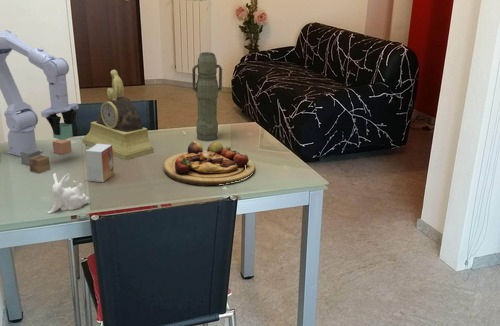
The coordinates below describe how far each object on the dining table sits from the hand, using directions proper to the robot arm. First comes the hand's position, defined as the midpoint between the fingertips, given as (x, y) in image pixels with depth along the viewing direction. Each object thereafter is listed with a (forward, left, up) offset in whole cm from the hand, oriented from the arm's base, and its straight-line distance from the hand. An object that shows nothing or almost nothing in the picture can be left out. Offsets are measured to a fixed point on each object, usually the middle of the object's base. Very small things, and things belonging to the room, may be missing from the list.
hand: (62, 132), depth 178 cm
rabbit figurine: (+29, -26, -11) cm, 41 cm away
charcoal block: (-8, -8, -10) cm, 15 cm away
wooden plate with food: (+48, +21, -11) cm, 53 cm away
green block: (0, 0, -2) cm, 2 cm away
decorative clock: (+5, +21, -11) cm, 24 cm away
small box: (+22, -5, -11) cm, 25 cm away
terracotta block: (-8, +6, -10) cm, 14 cm away
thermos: (+27, +51, -11) cm, 59 cm away
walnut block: (0, -11, -10) cm, 15 cm away
